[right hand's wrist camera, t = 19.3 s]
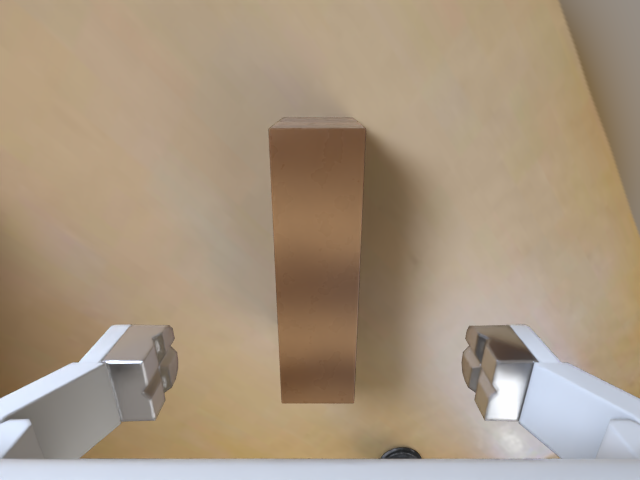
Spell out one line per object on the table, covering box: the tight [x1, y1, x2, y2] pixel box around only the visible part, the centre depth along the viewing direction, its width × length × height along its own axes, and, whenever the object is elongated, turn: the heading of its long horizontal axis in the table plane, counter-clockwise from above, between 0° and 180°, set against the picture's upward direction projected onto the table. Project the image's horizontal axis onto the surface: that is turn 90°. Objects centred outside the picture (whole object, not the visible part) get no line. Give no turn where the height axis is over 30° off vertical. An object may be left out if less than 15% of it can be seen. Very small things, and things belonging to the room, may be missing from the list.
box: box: [269, 118, 366, 403], centre depth 32 cm, size 22×6×9 cm, turn 0°
